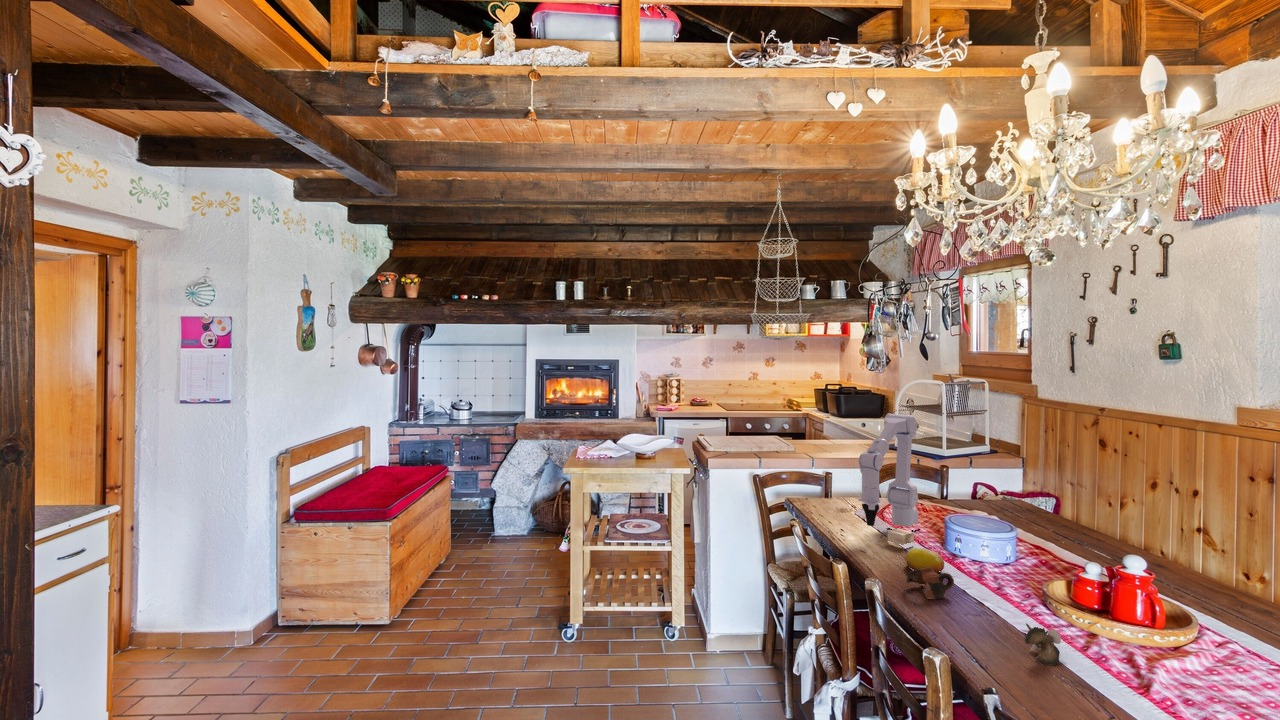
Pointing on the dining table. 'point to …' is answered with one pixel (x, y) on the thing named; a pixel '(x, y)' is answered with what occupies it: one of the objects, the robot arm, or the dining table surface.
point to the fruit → (924, 559)
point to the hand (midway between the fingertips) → (870, 525)
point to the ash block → (900, 536)
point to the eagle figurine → (1044, 644)
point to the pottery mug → (931, 581)
